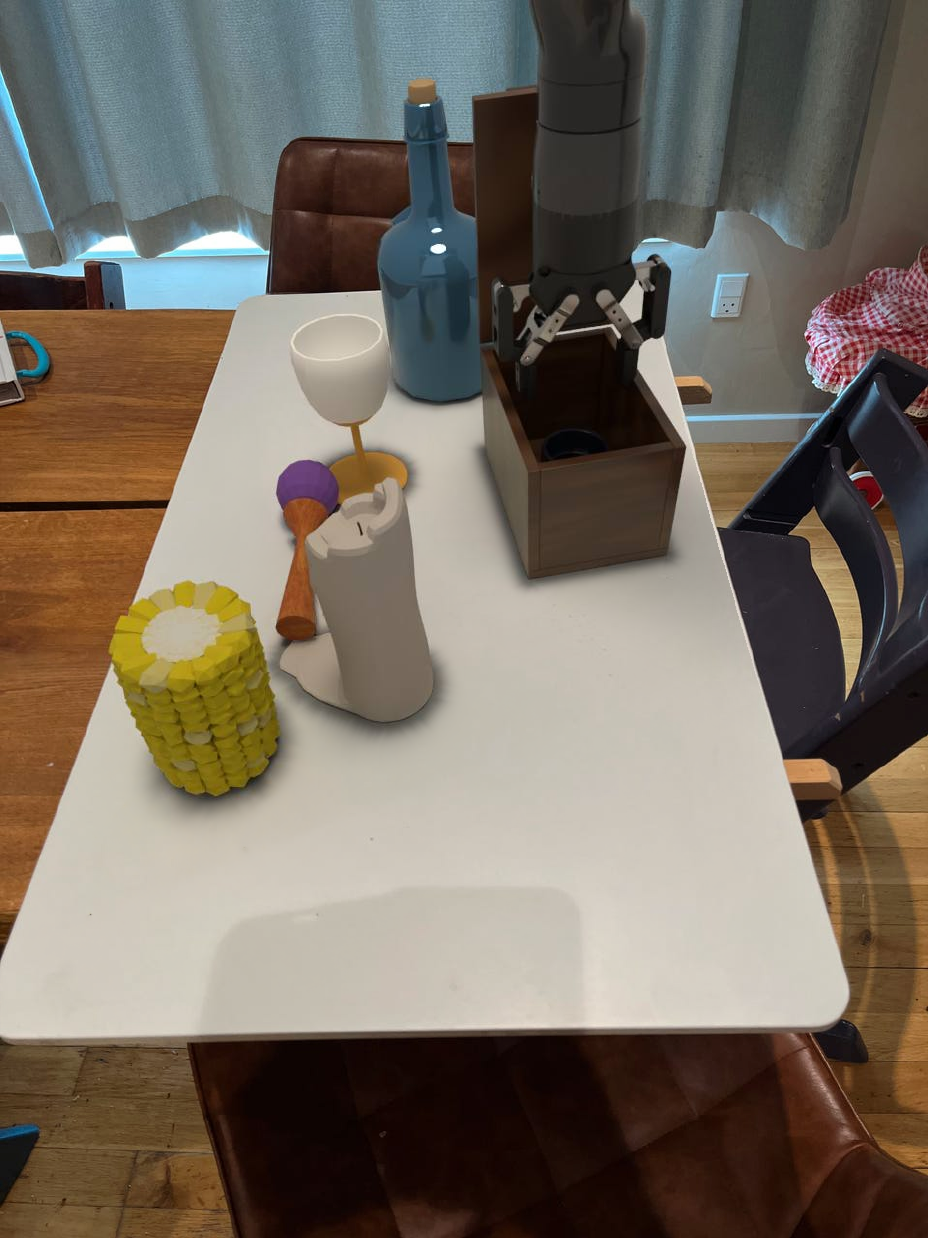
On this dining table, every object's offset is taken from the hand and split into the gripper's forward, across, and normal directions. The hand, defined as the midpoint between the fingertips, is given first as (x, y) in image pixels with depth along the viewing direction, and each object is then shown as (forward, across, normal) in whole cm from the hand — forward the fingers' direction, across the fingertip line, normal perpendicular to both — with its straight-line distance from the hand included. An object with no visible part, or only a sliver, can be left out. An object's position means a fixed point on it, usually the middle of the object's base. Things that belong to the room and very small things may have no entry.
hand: (575, 390), depth 68 cm
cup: (+13, -20, +9) cm, 25 cm away
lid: (-10, 0, +9) cm, 14 cm away
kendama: (+12, -26, -3) cm, 29 cm away
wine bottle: (+13, -8, +26) cm, 30 cm away
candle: (+13, -23, -17) cm, 31 cm away
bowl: (+11, 0, 0) cm, 11 cm away
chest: (+12, 0, 0) cm, 12 cm away
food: (+13, -33, -22) cm, 41 cm away
